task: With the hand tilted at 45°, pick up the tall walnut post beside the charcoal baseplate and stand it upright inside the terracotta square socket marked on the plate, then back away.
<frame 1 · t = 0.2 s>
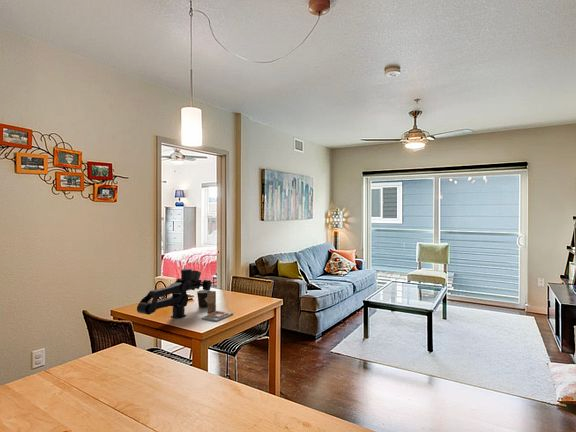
hand: (206, 281, 228), 16 cm above the table, tool horizontal, fingers open, 9 cm apart
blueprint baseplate: (217, 316, 205), on the table
walnut post: (211, 312, 213), on the table
coffee mug: (206, 306, 227), on the table
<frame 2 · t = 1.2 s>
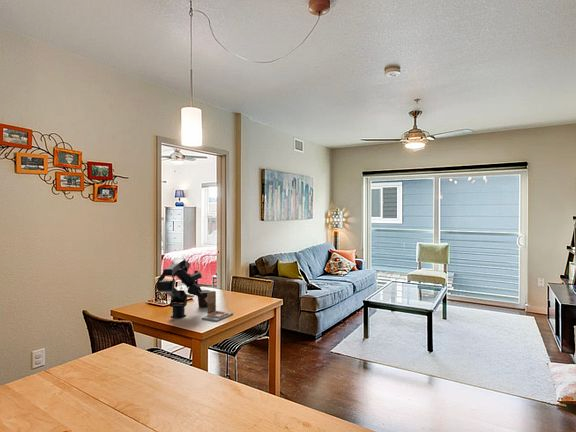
hand: (201, 294, 214), 11 cm above the table, tool tilted 40°, fingers open, 9 cm apart
nothing on the table moved.
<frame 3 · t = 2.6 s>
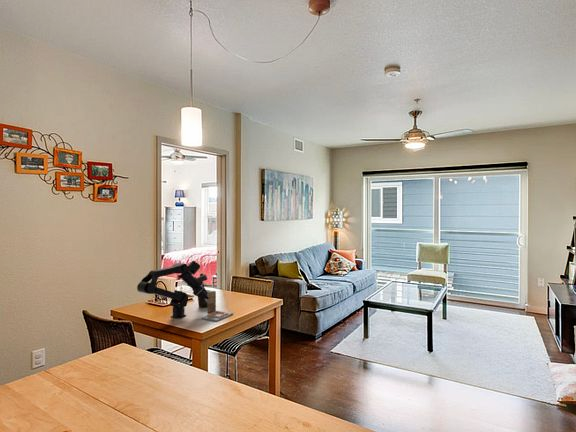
hand: (208, 297, 213), 10 cm above the table, tool tilted 45°, fingers open, 9 cm apart
nothing on the table moved.
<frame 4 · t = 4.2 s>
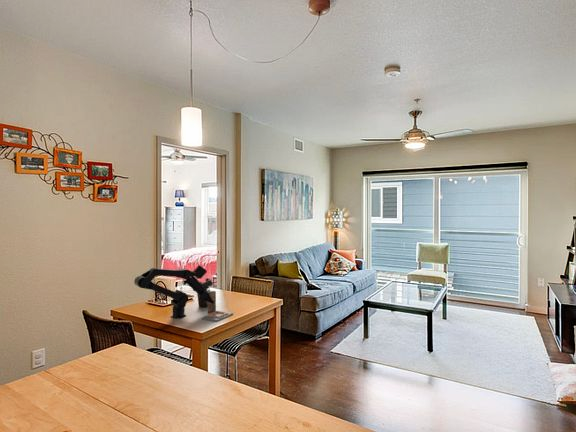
hand: (214, 301, 213), 7 cm above the table, tool tilted 45°, fingers closed on walnut post, 5 cm apart
walnut post: (211, 312, 213), on the table, touching gripper
everything else where it was.
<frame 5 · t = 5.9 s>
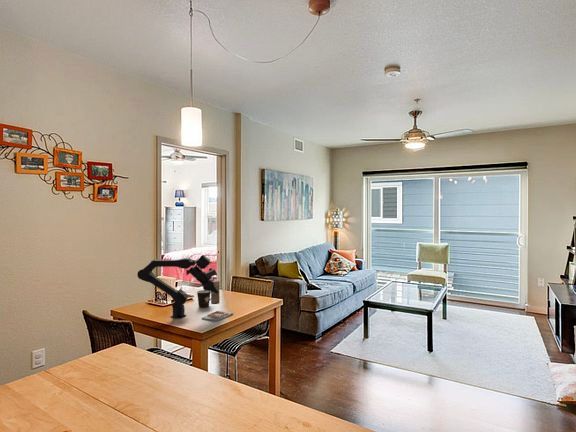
hand: (217, 292, 209), 14 cm above the table, tool tilted 45°, fingers closed on walnut post, 5 cm apart
walnut post: (215, 303, 209), point 7 cm above the table, touching gripper
everything else where it was.
when the fingers open (9 cm above the table, at t = 7.7 s): walnut post drops 1 cm, resting on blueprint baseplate.
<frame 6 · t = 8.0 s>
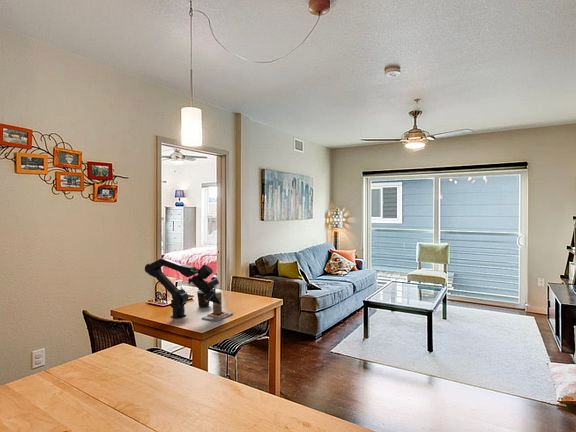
hand: (220, 301, 205), 9 cm above the table, tool tilted 45°, fingers open, 8 cm apart
walnut post: (217, 315, 205), point 1 cm above the table, touching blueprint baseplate
everything else where it was.
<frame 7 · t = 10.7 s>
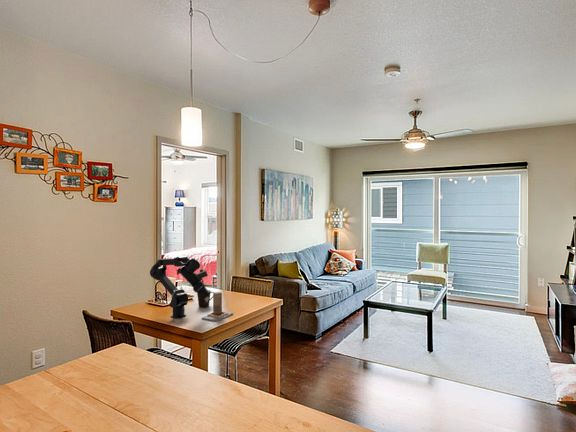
hand: (208, 294, 205), 13 cm above the table, tool tilted 45°, fingers open, 9 cm apart
nothing on the table moved.
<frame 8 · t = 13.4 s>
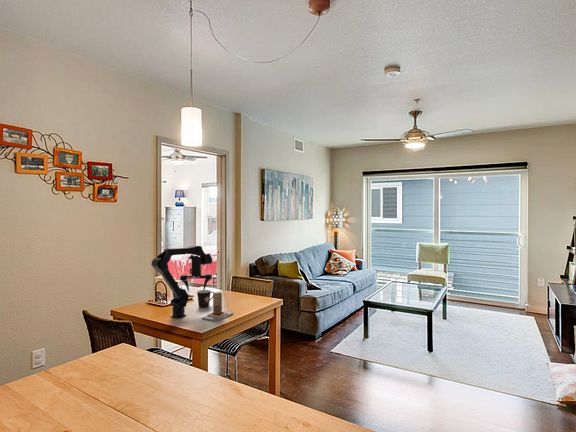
hand: (196, 291, 214), 13 cm above the table, tool pointing down, fingers open, 9 cm apart
nothing on the table moved.
at the end: walnut post 0.1 cm off-centre on the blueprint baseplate, point 1.0 cm above the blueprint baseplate's base; walnut post tilted 0°; the gripper is holding nothing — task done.
